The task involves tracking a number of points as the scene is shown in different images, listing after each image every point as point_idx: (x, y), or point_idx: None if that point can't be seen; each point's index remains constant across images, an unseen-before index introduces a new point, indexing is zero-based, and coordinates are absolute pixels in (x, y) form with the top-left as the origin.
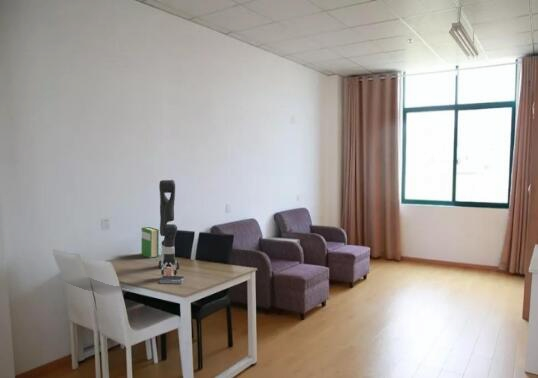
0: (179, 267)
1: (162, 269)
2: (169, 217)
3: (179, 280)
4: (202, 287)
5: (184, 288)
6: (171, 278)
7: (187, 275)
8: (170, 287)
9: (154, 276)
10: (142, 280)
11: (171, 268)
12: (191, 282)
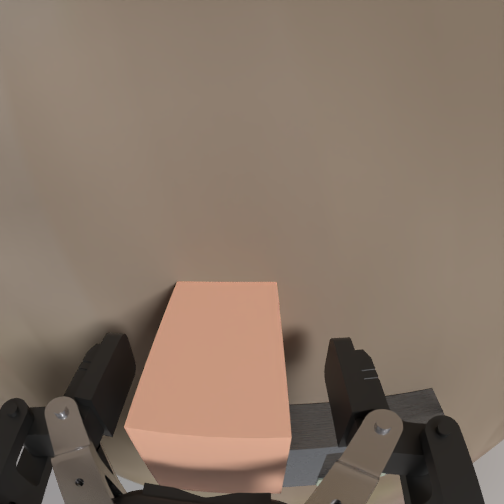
0: (459, 435)
1: (97, 448)
2: None
3: (383, 473)
4: (490, 446)
5: (397, 484)
6: (301, 456)
7: (497, 182)
8: (311, 494)
9: (13, 272)
10: (20, 389)
11: (280, 486)
12: (472, 409)
